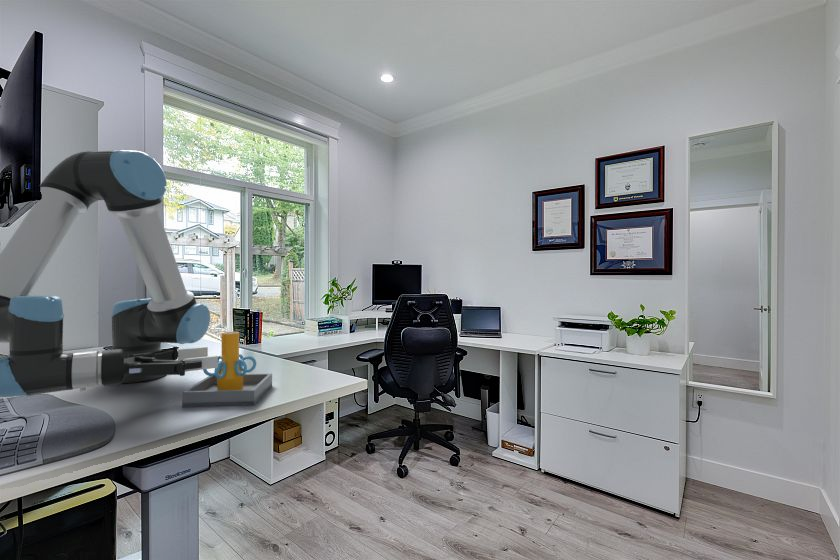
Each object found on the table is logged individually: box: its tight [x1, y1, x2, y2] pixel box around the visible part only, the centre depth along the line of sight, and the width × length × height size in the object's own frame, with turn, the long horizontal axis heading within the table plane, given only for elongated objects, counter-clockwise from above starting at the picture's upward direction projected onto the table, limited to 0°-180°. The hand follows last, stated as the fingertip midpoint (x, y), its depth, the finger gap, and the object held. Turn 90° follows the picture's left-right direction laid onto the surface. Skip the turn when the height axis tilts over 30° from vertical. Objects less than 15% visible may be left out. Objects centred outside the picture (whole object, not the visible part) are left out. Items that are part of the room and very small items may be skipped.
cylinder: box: [202, 331, 257, 390], centre depth 99 cm, size 12×10×15 cm
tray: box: [181, 373, 273, 408], centre depth 98 cm, size 16×16×4 cm
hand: (212, 356), depth 95 cm, fingers open, 13 cm apart
